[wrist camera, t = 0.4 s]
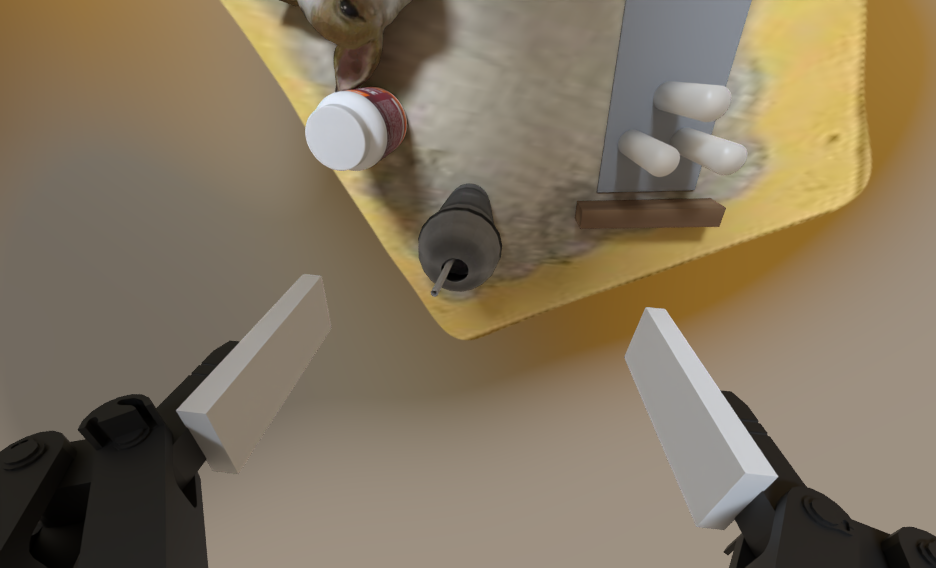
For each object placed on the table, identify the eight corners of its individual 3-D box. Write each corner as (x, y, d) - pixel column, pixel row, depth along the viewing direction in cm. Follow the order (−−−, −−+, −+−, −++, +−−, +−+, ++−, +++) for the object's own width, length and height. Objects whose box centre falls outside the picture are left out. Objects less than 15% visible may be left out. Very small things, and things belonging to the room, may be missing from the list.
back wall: (577, 201, 38) (582, 210, 36) (710, 198, 37) (725, 208, 35) (574, 218, 40) (580, 228, 37) (704, 216, 38) (719, 226, 36)
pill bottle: (389, 74, 33) (347, 77, 24) (418, 138, 36) (390, 162, 27) (336, 102, 35) (278, 115, 26) (368, 161, 38) (326, 191, 29)
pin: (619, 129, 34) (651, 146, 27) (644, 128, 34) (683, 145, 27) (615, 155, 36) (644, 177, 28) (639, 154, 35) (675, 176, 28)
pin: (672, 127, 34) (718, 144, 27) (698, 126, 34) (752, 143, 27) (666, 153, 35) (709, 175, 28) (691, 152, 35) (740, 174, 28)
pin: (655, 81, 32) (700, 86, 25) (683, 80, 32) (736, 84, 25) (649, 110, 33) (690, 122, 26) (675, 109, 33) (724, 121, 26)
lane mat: (656, -202, 23) (657, -204, 23) (816, -222, 23) (818, -224, 22) (596, 191, 38) (597, 192, 38) (693, 189, 37) (694, 190, 37)
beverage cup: (466, 244, 42) (445, 362, 25) (424, 199, 40) (369, 298, 23) (514, 207, 39) (525, 312, 22) (472, 156, 37) (449, 232, 20)
